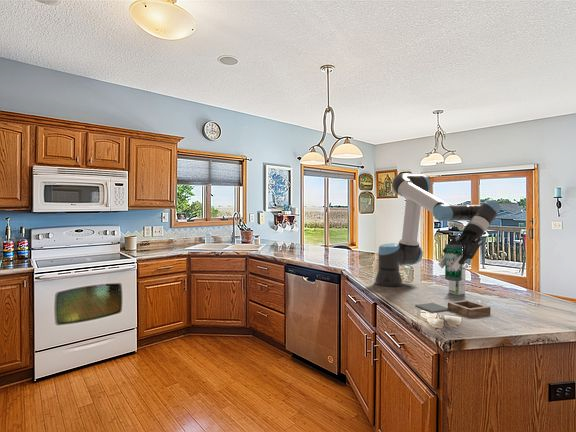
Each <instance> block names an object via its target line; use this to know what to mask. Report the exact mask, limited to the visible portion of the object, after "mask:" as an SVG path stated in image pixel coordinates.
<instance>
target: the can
mask: <svg viewBox="0 0 576 432" xmlns="http://www.w3.org/2000/svg"><path fill="white" fill-rule="evenodd" d="M445 247H446V257H445V266H444V267H445V269H444V270H445V271H444V279H445V280H446V281H447V280H448V281H449V280H450V281H461V280H462V266H463V264H462V265H461V266H460V267H459V269H458V270H457V271H455V270H454V269H453V268H452V266H453V264H454V263H455V262H456V260H457V259H458V257H459V256H460V255H461V256H462V254H463V247H462V245H458V244H448V243H446V244H445Z"/></svg>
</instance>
